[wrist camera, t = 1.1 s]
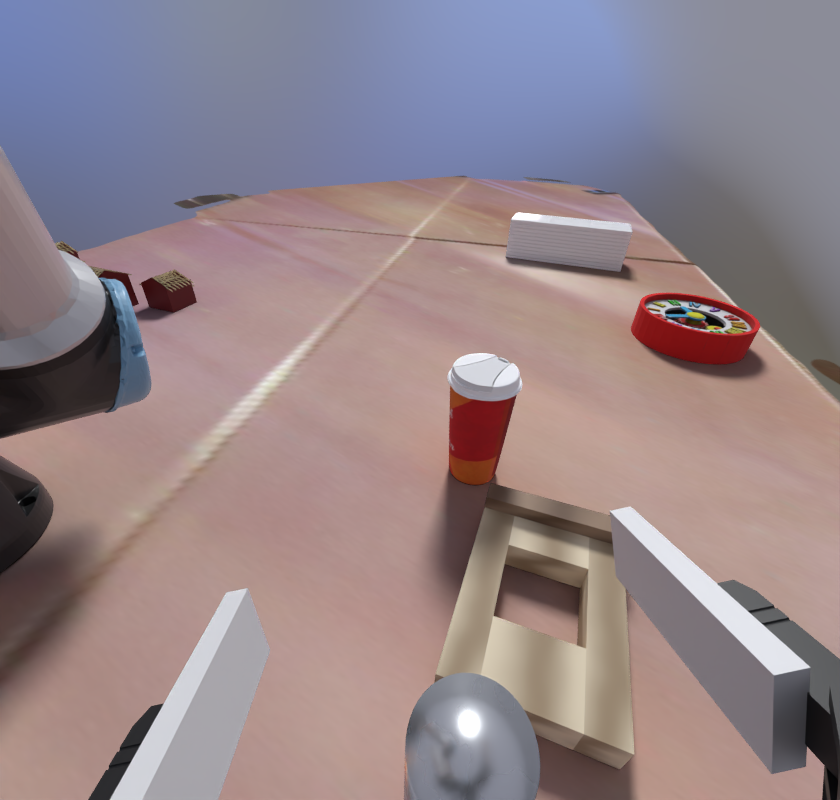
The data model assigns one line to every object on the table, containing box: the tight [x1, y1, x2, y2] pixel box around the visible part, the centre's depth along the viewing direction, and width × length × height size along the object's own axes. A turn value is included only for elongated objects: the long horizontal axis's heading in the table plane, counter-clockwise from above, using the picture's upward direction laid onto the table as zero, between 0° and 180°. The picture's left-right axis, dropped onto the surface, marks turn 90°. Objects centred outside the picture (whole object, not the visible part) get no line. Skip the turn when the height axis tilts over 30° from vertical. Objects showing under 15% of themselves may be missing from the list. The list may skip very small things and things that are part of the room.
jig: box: [435, 483, 634, 770], centre depth 35 cm, size 13×18×4 cm
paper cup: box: [448, 353, 522, 485], centre depth 46 cm, size 8×8×14 cm
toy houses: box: [55, 241, 197, 312], centre depth 87 cm, size 45×20×10 cm, turn 69°
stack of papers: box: [506, 213, 632, 272], centre depth 121 cm, size 32×11×11 cm, turn 70°
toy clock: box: [631, 293, 760, 364], centre depth 80 cm, size 20×6×20 cm
